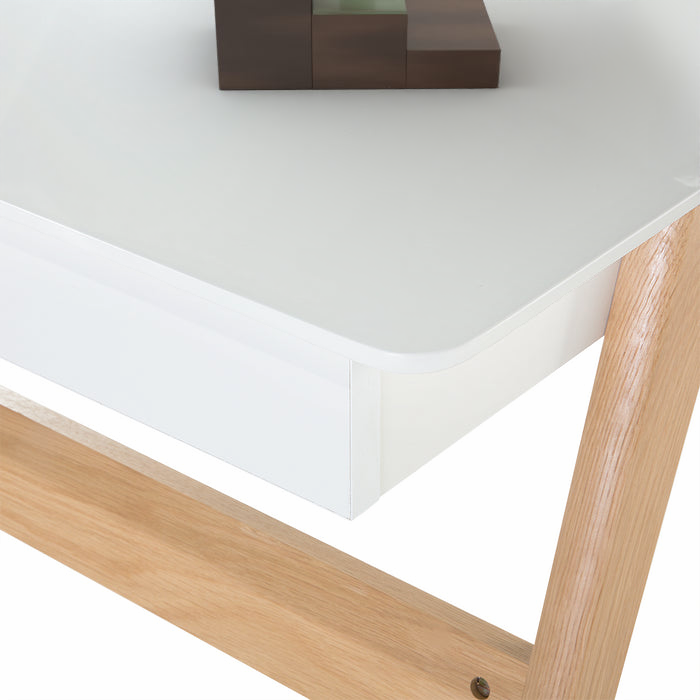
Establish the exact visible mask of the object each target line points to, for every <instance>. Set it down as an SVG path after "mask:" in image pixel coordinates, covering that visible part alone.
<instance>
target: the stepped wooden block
mask: <svg viewBox="0 0 700 700" xmlns="http://www.w3.org/2000/svg"><path fill="white" fill-rule="evenodd" d="M213 7H214V25H215V42H216V56H217V57H216V58H217V59H216V61H217V75H218V90H220V91H221V90H222V91H223V90H362V89H363V90H366V89H367V90H372V89H373V90H374V89H377V90H379V89H381V90H382V89H383V90H386V89H495V88H497V89H498V88H499V83H500V82H499V81H500V70H501V69H500V68H501V56H502V49H501V46H500V43H499V40H498V38H497V35H496V32H495V29H494V27H493V24H492V21H491V19H490V15H489V12H488V10H487V8H486V7H487V6H486V4H485V2H484V0H213Z"/></svg>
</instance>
